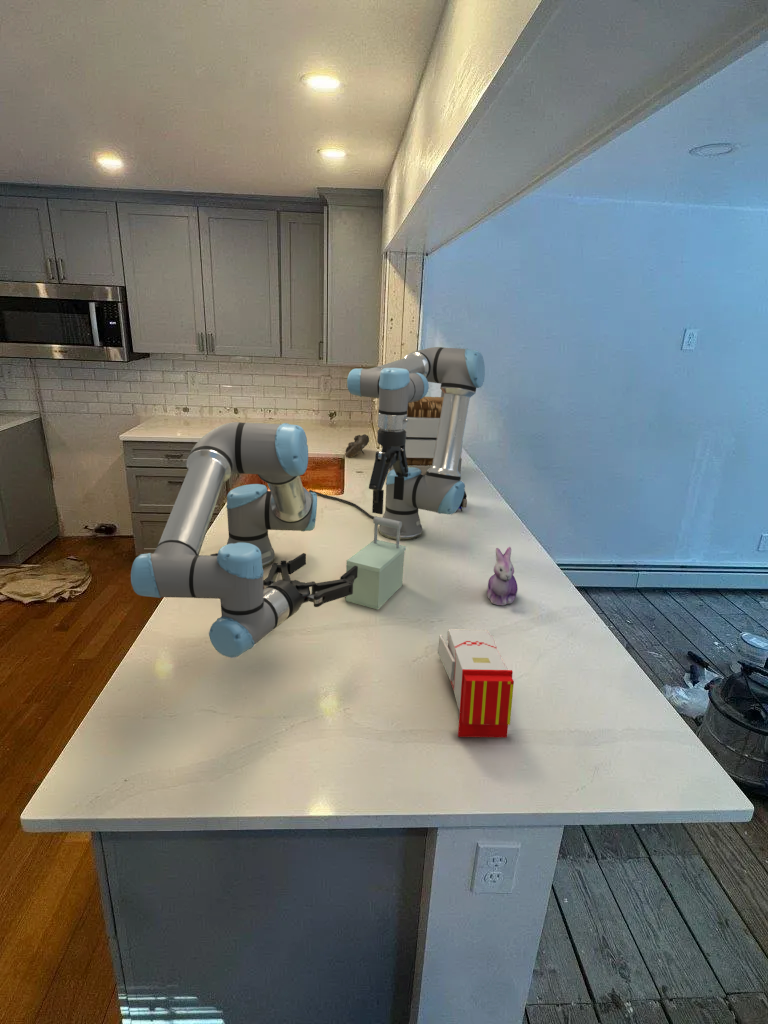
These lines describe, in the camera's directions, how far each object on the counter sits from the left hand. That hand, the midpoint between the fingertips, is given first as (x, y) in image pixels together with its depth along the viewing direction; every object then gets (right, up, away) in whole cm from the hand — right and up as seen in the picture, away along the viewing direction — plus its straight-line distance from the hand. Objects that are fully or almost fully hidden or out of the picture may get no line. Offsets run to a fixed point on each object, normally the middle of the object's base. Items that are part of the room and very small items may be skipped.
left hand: (329, 564), depth 130 cm
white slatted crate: (+30, +31, +145) cm, 151 cm away
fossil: (-2, +44, +176) cm, 181 cm away
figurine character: (+42, +14, +99) cm, 109 cm away
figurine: (+45, -12, +28) cm, 54 cm away
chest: (+10, -10, +28) cm, 31 cm away
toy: (+30, -26, -11) cm, 41 cm away
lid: (+11, 0, +25) cm, 27 cm away
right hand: (+14, +14, +25) cm, 32 cm away
